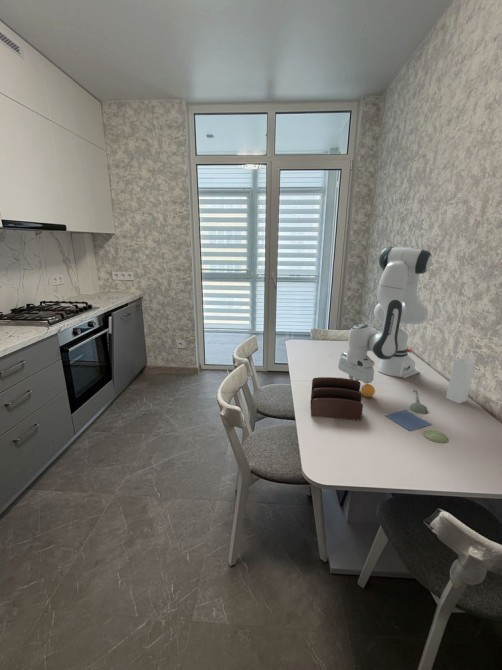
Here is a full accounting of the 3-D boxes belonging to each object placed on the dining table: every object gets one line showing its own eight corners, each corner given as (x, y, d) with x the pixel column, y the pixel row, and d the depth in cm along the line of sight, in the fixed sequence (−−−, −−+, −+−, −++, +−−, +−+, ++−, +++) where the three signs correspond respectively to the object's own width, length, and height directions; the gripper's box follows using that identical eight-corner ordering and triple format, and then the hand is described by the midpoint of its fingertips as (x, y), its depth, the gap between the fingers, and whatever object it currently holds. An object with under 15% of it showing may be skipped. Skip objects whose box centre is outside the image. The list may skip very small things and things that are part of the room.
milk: (466, 401, 140) (477, 355, 134) (459, 404, 138) (470, 357, 131) (452, 395, 146) (462, 351, 139) (445, 398, 143) (455, 353, 137)
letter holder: (310, 404, 135) (312, 375, 131) (357, 409, 132) (360, 378, 128) (310, 416, 126) (313, 384, 122) (361, 421, 123) (365, 389, 119)
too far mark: (432, 428, 118) (432, 427, 118) (453, 439, 111) (453, 439, 111) (418, 432, 115) (418, 432, 115) (438, 445, 108) (438, 444, 108)
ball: (367, 392, 147) (368, 381, 145) (377, 398, 142) (378, 386, 140) (357, 394, 145) (359, 383, 143) (367, 400, 139) (368, 388, 138)
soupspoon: (409, 414, 130) (426, 418, 128) (411, 407, 129) (428, 411, 127) (407, 391, 149) (422, 395, 147) (409, 385, 148) (424, 388, 146)
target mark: (405, 410, 131) (405, 409, 131) (431, 424, 121) (431, 424, 121) (384, 415, 127) (384, 415, 127) (409, 431, 116) (409, 430, 116)
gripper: (336, 352, 155) (334, 377, 159) (367, 365, 137) (363, 394, 141) (346, 350, 158) (343, 375, 161) (377, 363, 140) (373, 391, 143)
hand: (353, 384), depth 151 cm, fingers closed
